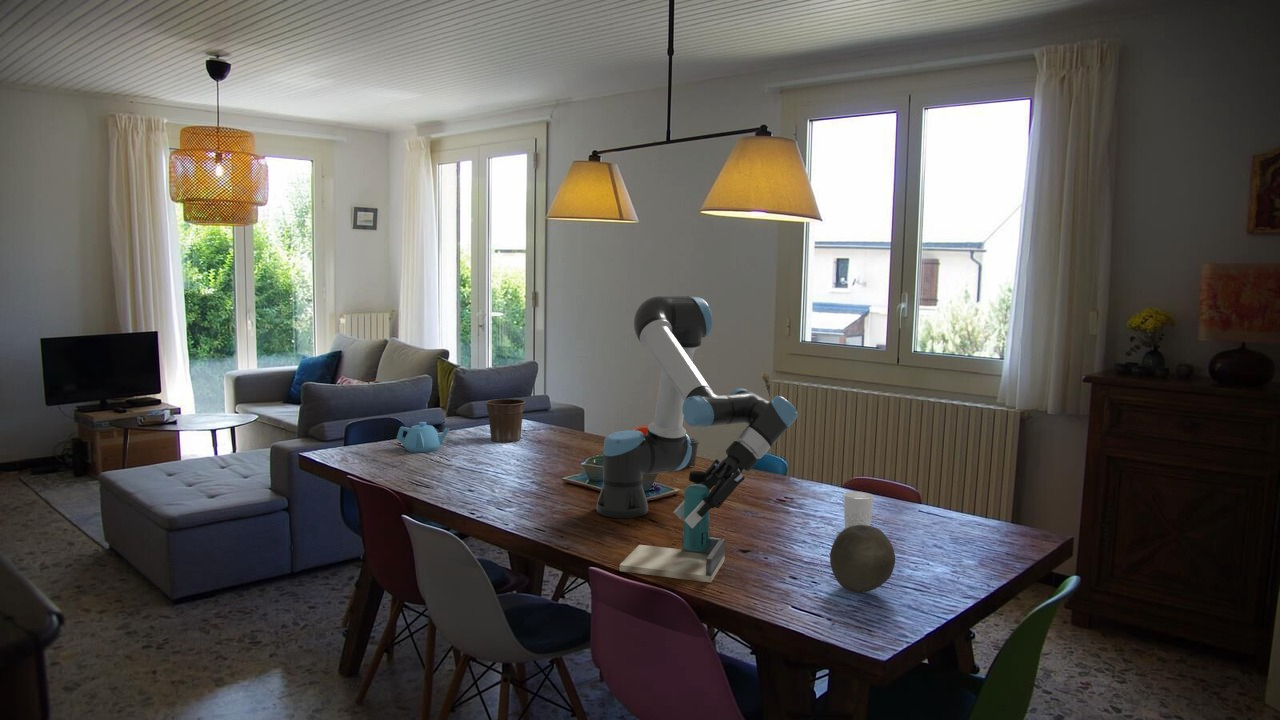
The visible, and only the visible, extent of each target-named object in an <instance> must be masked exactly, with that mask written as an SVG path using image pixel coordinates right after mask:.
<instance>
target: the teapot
mask: <svg viewBox="0 0 1280 720" xmlns="http://www.w3.org/2000/svg"><path fill="white" fill-rule="evenodd" d="M449 431H450V428H449V427H445V429H443V432H441V434H439V433H438V431H437V429H436V428H435V426H433V425H430V424H427V421H419V422H418V424H417V425H412V426H411V427H406V426H402V425H401V426H400V427H399V429H398V432H397V436H396V440H398V441H399V442H400V444H402V445H403V447H404V448H405V449H406V451H407V452H409V453H410V452H411V453H431V452H435V451H437V450H439V448H440V447H441V446H442V444H443V442H444V440H445V438H446V436H447V434H448V432H449ZM404 432H407V433H406V435H405V436H403V435H404Z"/></svg>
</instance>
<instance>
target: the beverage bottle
mask: <svg viewBox="0 0 1280 720" xmlns="http://www.w3.org/2000/svg"><path fill="white" fill-rule="evenodd" d="M688 481H689V482H690V483H692V484H689V485H688V486H687V487H685V489H684V490H683V491H684V500H683V501H684V518H683V523H682V525H683V534H684V535H683V534H682V535H683V545H684V548H685V549H687V550H690V551H705V550H707V549H708V547H709V544H710V543H709V539H710V537H711V536H710V532H711V530H710V524H711V523H710V522H711V520H710V517H711V509H710V510H709V511H708V512H707V513H706V514H705V516H704V517H703V518H702V519H701V520H700V521H699V522H698V523H697V524H696V525H695V526H694V528H693V529H692V528H691V527H690V526H689V525H688V524H687V523H686V522H685V521H684V520H685V519H686V518H687V517H688V516H689V514H690V513H691V512H692V511H693V510H694V509H695V508H696V507H697V506H698V505H699V503H700V502H701V501H702V500H703V498H707V497H708V495H709V494H710V492H711V489H710V490H709V488H708V487H707V486H705V485H702V484H693V483H694V482H695V483H702V482H706V473H705V471H703V470H702V471H700V470H693V471H690V472H689V477H688ZM703 501H704V500H703ZM704 502H705V501H704ZM705 503H706V502H705Z"/></svg>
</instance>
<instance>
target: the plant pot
mask: <svg viewBox="0 0 1280 720" xmlns="http://www.w3.org/2000/svg"><path fill="white" fill-rule="evenodd" d="M485 404H486V409H487V413H488V423H489V432H490V440H491V441H492V442H496V443H509V442H512V443H515V442H518V441H520V440H521V438H522V427H523V426H522V425H523V415H524V413H523V412H524V409H525V404H526V400H525V399H519V398H518V399H517V398H499V399H498V398H496V399H489V400H487V401H485Z"/></svg>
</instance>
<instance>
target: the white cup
mask: <svg viewBox="0 0 1280 720" xmlns="http://www.w3.org/2000/svg"><path fill="white" fill-rule="evenodd" d="M843 496H844V498H843V500H844V501H843V503H844V505H843V506H844V507H843V511H844V513H843V515H844V517H843V518H844V530H845V529H847V528H848V527H851V526H855V525H868V526H871V523H872V517H873V515H872V514H873V507H874V495H873V494H872V493H868V492H863V491H846V492H844V494H843Z"/></svg>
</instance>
